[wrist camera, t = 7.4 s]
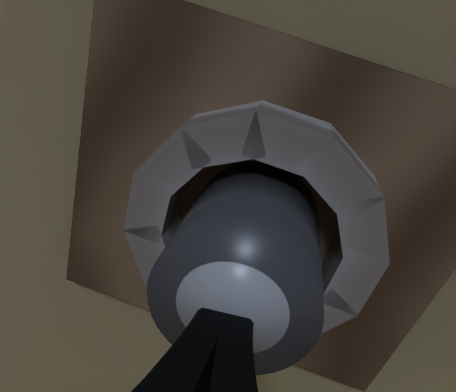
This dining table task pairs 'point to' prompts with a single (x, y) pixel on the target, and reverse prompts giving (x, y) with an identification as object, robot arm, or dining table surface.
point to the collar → (270, 154)
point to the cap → (246, 263)
